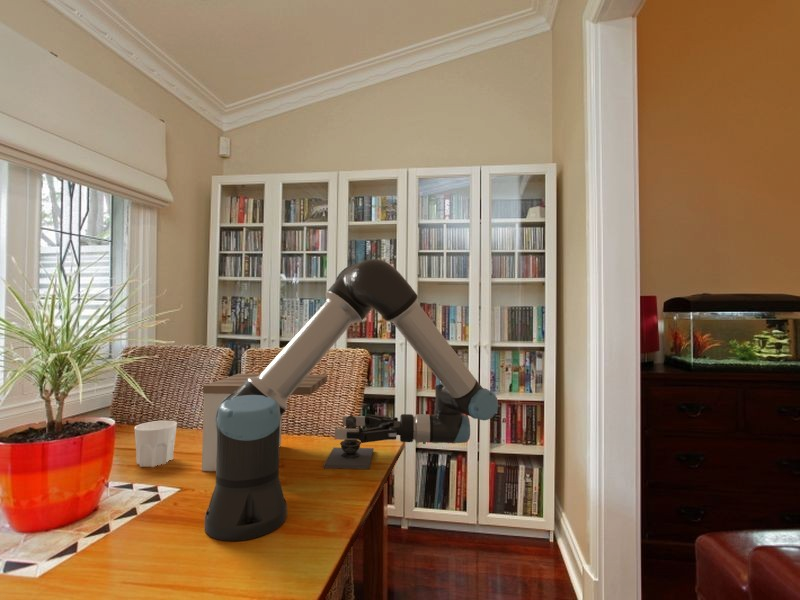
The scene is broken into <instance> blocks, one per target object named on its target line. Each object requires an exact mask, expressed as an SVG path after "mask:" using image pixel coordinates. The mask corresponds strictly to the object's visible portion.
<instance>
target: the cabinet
mask: <svg viewBox="0 0 800 600" xmlns="http://www.w3.org/2000/svg"><path fill="white" fill-rule="evenodd" d="M260 374H261V373H236V374H234V375H231V376H228V377H225V378H222V379H219V380H216V381H213V382H210V383H207V384H203V385H202V394H203V412H202V418H203V419H202V442H201V443H202V447H201V448H202V451H201V452H202V453H201V471H202V472H216V459H217V428H216V415H217V411H218V408H219V406H220V404H221V403H222V402H223V400H224V399H225V398H226V397H228V396H229V395H230V394H232V393H234V392H235V391H237V390H238V388H239V387H240V386H241V385H242V384H243V383H244V382H245V381H246V380H247V379H248V378H249V377H257V376H259V375H260ZM327 382H328V374H308V375H307V376H306V377H305V379H304V380H303V381H302V382H301V383H300V384H299V386H298V387H297V388H296V389H295V390H294V391H293V393H292V394H291V395H290V396H294V395H296V396H311V395H312V394H314V393H315V392H316V391H317V390H319V389H320V388H321V387H323V386H324V385H325V384H326V383H327ZM282 415H283V414H282ZM282 415H281V420H280V433H279V446H280V445H281V446H282V418H283V417H282Z"/></svg>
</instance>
